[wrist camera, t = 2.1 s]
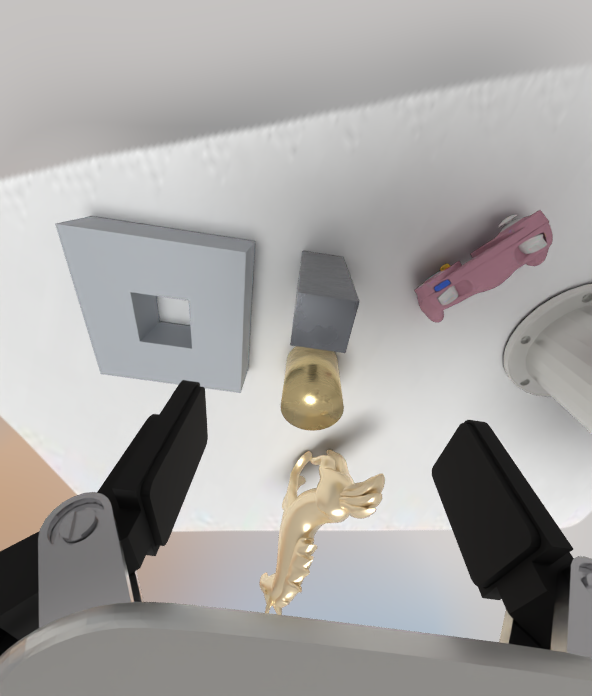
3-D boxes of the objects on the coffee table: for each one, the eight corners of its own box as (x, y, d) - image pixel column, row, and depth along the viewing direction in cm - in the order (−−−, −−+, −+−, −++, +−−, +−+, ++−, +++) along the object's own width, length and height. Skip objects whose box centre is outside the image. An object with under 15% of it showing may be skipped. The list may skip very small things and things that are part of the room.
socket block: (255, 241, 24) (246, 252, 21) (248, 369, 32) (240, 392, 28) (91, 216, 24) (55, 223, 20) (123, 352, 31) (100, 373, 28)
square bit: (343, 256, 25) (359, 301, 16) (334, 295, 27) (345, 352, 18) (302, 250, 25) (297, 292, 16) (297, 289, 26) (290, 345, 18)
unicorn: (357, 406, 34) (390, 580, 20) (380, 422, 35) (427, 596, 21) (262, 478, 43) (237, 634, 28) (283, 488, 44) (268, 643, 30)
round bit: (342, 345, 30) (350, 389, 24) (331, 386, 33) (336, 433, 27) (290, 338, 29) (284, 380, 24) (284, 379, 32) (277, 426, 26)
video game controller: (510, 216, 24) (552, 186, 17) (541, 260, 24) (596, 247, 17) (403, 286, 27) (406, 283, 21) (430, 325, 27) (440, 334, 21)
